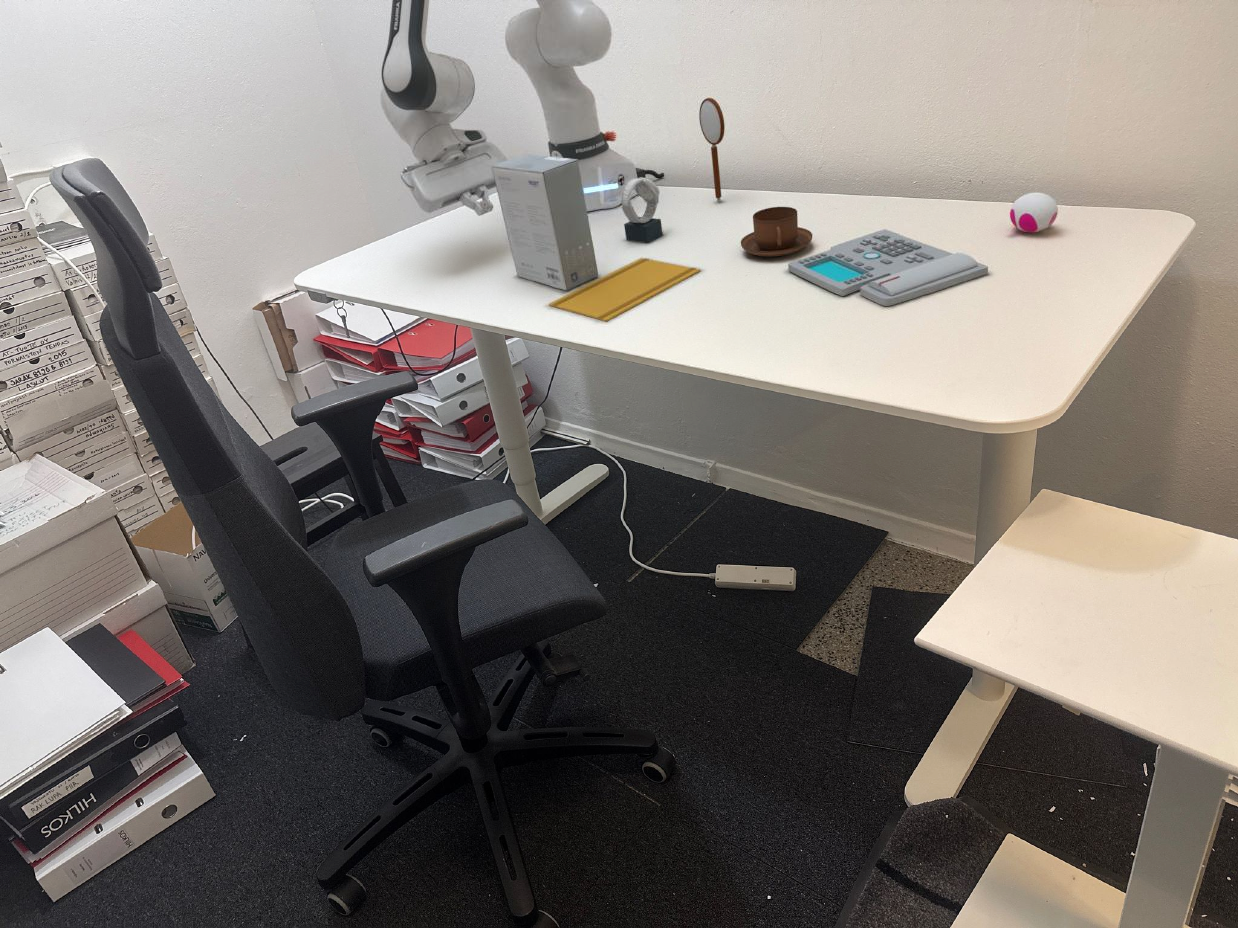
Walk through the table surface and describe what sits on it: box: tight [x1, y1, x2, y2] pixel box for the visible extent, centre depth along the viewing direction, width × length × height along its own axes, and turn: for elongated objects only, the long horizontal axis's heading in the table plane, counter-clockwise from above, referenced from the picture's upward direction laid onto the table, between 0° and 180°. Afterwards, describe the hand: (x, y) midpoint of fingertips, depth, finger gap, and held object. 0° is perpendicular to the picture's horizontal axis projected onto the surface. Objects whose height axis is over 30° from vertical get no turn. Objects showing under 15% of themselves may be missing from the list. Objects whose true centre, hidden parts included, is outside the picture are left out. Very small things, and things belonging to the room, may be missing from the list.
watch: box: [621, 178, 664, 244], centre depth 154 cm, size 6×8×11 cm
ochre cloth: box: [548, 257, 701, 322], centre depth 136 cm, size 22×14×1 cm, turn 134°
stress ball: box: [1009, 191, 1059, 236], centre depth 128 cm, size 8×8×7 cm
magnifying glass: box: [698, 97, 725, 203], centre depth 163 cm, size 9×2×20 cm, turn 23°
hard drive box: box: [492, 154, 599, 291], centre depth 141 cm, size 16×8×20 cm, turn 41°
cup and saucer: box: [740, 206, 813, 257], centre depth 138 cm, size 12×12×6 cm
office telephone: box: [787, 228, 989, 307], centre depth 124 cm, size 23×3×20 cm
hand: (486, 211), depth 152 cm, fingers closed
